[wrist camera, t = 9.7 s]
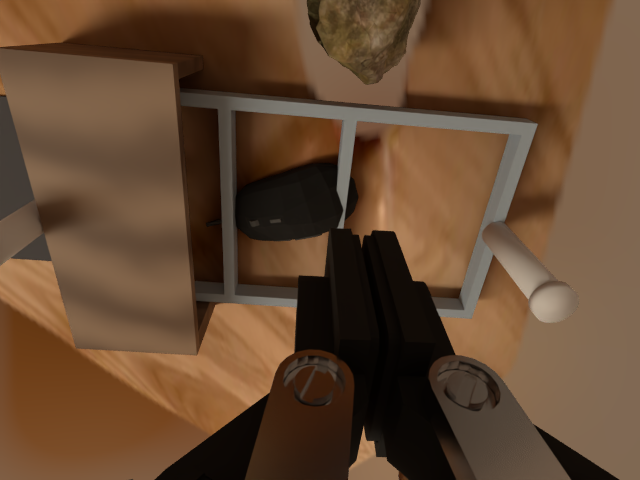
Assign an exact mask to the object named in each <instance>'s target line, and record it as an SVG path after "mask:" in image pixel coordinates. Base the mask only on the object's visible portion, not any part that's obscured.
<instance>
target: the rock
mask: <svg viewBox="0 0 640 480" xmlns="http://www.w3.org/2000/svg"><path fill="white" fill-rule="evenodd" d="M419 6H420V0H307V7H308V16H309V20H310V26H311V28H312V31H313V33H314V35H315V37H316V39H317V41H318V43H320V44H321V45H322V47H323V48H324V49H325V51H326V53H327V54H328V56H330V57H331V58H333V59H335V60H337V61H338V62H339V63H340V64H341V65H342V66H344V67H346V68H348V69H350V70H351V71H352V72H353V73H354V74H355V75H356V76H357V77H358V78H359V79H360V80H361V81H362V82H364V84H367V85H368V84H374V83H378V82H379V81H380V80H381V79H382V77H383V74H384V73H386V72H387V71H389V70H390V69H391V68H392V67H394V66H396V65H397V64H398V63H399V62H400V60H401V58H402V57H403V56H404V54H405V53H406V45H407V37H408V33H409V30H410V28H411V26H412V24H413V21H414V19H415V16H416V14H417V12H418V9H419Z"/></svg>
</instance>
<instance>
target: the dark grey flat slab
mask: <svg viewBox="0 0 640 480" xmlns="http://www.w3.org/2000/svg"><path fill="white" fill-rule="evenodd" d="M34 199H35V198H34V194H33V191H32V187H31V183H30V180H29V176H28V173H27V169H26V165H25V162H24V158H23V154H22V151H21V147H20V144H19V140H18V136H17V133H16V129H15V125H14V122H13V118H12V115H11V111H10V107H9V104H8V100H7V96H0V221H1V220H2V219H4V218H5V217H7V216H9V215H10V214H12V213H13V212H15V211H17V210H18V209H20V208H22V207H23V206H25V205H26V204H28V203H30V202H31V201H33V200H34ZM11 258H14V259H29V260H44V261H52V260H51V256H50V252H49V249H48V245H47V241H46V238H45V234H44V233H43V234H41V235H40V236H39V237H37V238H36V239H35V240H33V241H32V242H31V243H30V244H28V245H27V246H26V247H24V248H23V249H22V250H20V251H19V252H18V253H16V254H15V255H14V256H12V257H11Z"/></svg>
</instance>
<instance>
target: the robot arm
mask: <svg viewBox="0 0 640 480" xmlns="http://www.w3.org/2000/svg"><path fill="white" fill-rule="evenodd" d="M363 426H364V429H365V436H366V440H367V441H374V444H375V450H376V457H387V461H388V462H389V463H390V464H392V465H393V466H394V467H395V468H396V469H397V470H398V471H399V474H398V477H399V480H619V479H617V478H616V477H614V476H613V475H611V474H610V473H608V472H607V471H605V470H604V469H602V468H600V467H599V466H597V465H596V464H594V463H593V462H591V461H590V460H588V459H587V458H585V457H583V456H582V455H580V454H579V453H577V452H576V451H574V450H573V449H571V448H569V447H568V446H566V445H565V444H563V443H562V442H560V441H559V440H557V439H556V438H554V437H553V436H551V435H549V434H548V433H546V432H545V431H543V430H542V429H540V428H539V427H537V426H535V425H534V424H532V422H531V421H530V419H529V418H528V416H527V415H526V413H525V412H524V410H523V409H522V407H521V406H520V405H519V403H518V402H517V400H516V399H515V397H514V396H513V395H512V393H511V392H510V390H509V389H508V387H507V386H506V384H505V383H504V381H503V380H502V379H501V378H500V377H499V376H498V374H497V373H496V372H495V371H493V370H492V369H491V368H489V367H488V366H487V365H485V364H483V363H481V362H479V361H477V360H475V359H473V358H469V357H465V356H460V355H455V353H454V350H453V348H452V345H451V343H450V340H449V338H448V336H447V333H446V331H445V328H444V326H443V324H442V321H441V319H440V316H439V314H438V311H437V309H436V307H435V304H434V302H433V299H432V297H431V294H430V292H429V290H428V287H427V285H426V284H425V283H424V282H419V281H413V280H412V277H411V274H410V272H409V269H408V266H407V264H406V261H405V258H404V256H403V253H402V250H401V247H400V245H399V242H398V239H397V237H396V234H395V232H393V231H377V230H373V231H372V233H371V236H369V235H365V236H364V238H363V244H362V248H361V243H360V238H359V235H352V231H351V229H341V228H330V229H329V236H328V246H327V256H326V266H325V276H324V277H319V276H299V278H298V294H297V311H296V331H295V352H294V354H292V355H290V356H288V357H287V358H286V359H285V360H284V361H283V362H282V363H280V365H279V367H278V369H277V371H276V373H275V376H274V380H273V383H272V387H271V390H270V393H269V394H267V395H266V396H264V397H263V398H262V399H260V400H259V401H258V402H256V403H255V404H254V405H252V406H251V407H250V408H248V409H247V410H245V411H244V412H243V413H241V414H240V415H239V416H237V417H236V418H235V419H233V420H232V421H231V422H229V423H228V424H226V425H225V426H224V427H222V428H221V429H220V430H218V431H217V432H216V433H214V434H213V435H212V436H210V437H209V438H207V439H206V440H205V441H204V442H202V443H201V444H199V445H198V446H197V447H195V448H194V449H193V450H191V451H190V452H189V453H187V454H186V455H184V456H183V457H182V458H180V459H179V460H178V461H176V462H175V463H174V464H172V465H171V466H170V467H168V468H167V469H166V470H165V471H163V472H162V473H161V474H160V475H159V476H158V477H157V478H156V479H155V480H348V474H349V467H350V466H351V465H352V464H353V463H354V462H355V461H356V459H357V454H358V450H359V445H360V440H361V436H362V431H363ZM131 480H133V479H131Z"/></svg>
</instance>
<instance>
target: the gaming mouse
mask: <svg viewBox="0 0 640 480" xmlns="http://www.w3.org/2000/svg"><path fill="white" fill-rule="evenodd" d="M337 176H338V165H334V164H331V163H315V164H308V165H305V166H301V167H298V168H295V169H292V170H289V171H287V172H284V173H281V174H278V175H275V176H271V177H268V178H265V179H262V180H259V181H257V182H254V183H251V184H249V185H246V186H245V187H244V188H243V189H242V190H241V191H240V192H239V193H238V194H237V196H236V198H235V219H236V227H237V228H238V229H240V230H241V231H242V232H243V233H245V234H246V235H247V236H248V237H249V238H251V239H256V240H262V241H290V240H292V239H295V240H300V239H306V238H311V237H316V236H320V235H322V233H325V232H328V231H329V229H330V228H338V225H339V222H340V220H341V217H342V214H343V207H342V204H341V201H340V198H339V195H338V192H337ZM357 200H358V194H357V190H356V186H355V182H354V179H353V178H352V177H351V176H350V180H349V188H348V195H347V203H346V211H345V219H344V221H345V220H346V219H347V218H348V217H349V216H350V215H351V214H352V213H353V212H354V209H355V206H356V203H357ZM217 224H222V220H217V221H213V222H208V223H206V226H207V227H208V226H213V225H217Z"/></svg>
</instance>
